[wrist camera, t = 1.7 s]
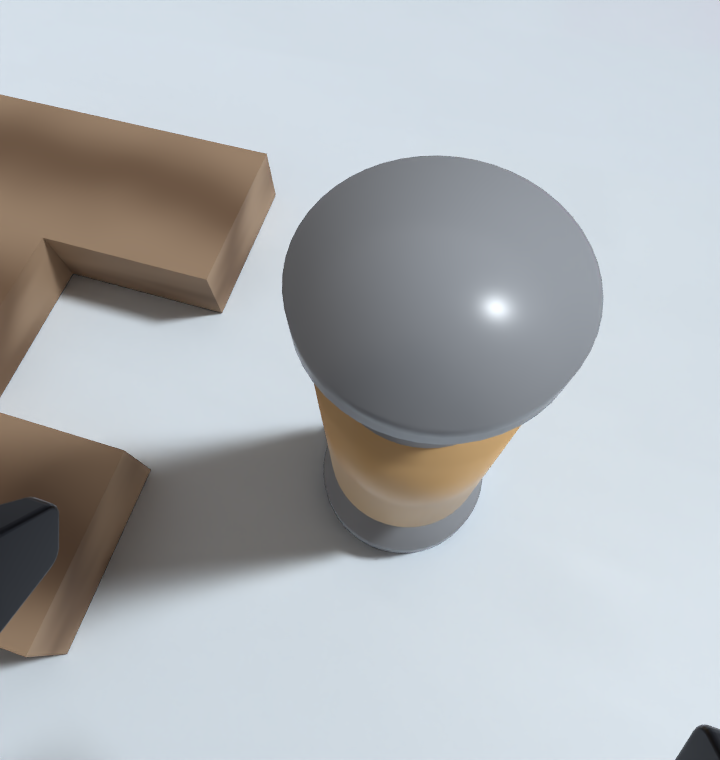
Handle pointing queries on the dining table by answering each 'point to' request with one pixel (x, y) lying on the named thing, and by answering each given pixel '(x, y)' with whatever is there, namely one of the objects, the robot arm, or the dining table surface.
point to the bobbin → (433, 333)
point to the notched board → (112, 265)
